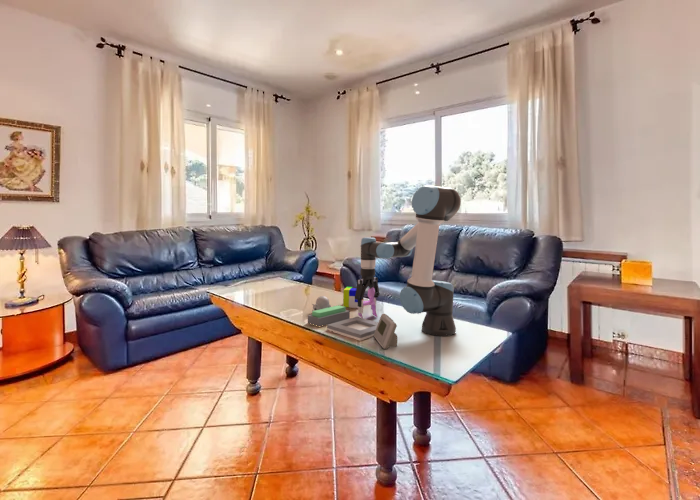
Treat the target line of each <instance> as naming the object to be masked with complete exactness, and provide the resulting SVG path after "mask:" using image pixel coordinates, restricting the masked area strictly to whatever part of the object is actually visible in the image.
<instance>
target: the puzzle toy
mask: <svg viewBox="0 0 700 500" xmlns="http://www.w3.org/2000/svg"><path fill="white" fill-rule="evenodd" d="M356 288H357V286H356V287H354V286H346V287H345V288H344V289H343V294H342V296H343V297H342V299H343V300H342V306H344V307H346V308H353V309H358V300H356V299H355V294H356ZM360 298H361V297H360ZM362 300H363V301H364V298H363V299H362Z"/></svg>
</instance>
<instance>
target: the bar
mask: <svg viewBox="0 0 700 500" xmlns="http://www.w3.org/2000/svg"><path fill="white" fill-rule="evenodd" d="M346 308H347V307H344V306H343V305H334V306H331V307H329V308H324V309H320V310H315V311H312V310H311V314H312V316H315V317H318V318H320V317H324V316H328V315H332V314H336V313H340V312H344V311H346V310H347V309H346Z"/></svg>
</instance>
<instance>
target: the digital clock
mask: <svg viewBox="0 0 700 500" xmlns="http://www.w3.org/2000/svg"><path fill="white" fill-rule="evenodd" d="M397 327H398V326H397V323H396V322H395V321H394V320H393V319H392V318H391V317H390V316H389V315H387V314H386V313H382V314H381V315H380V317H379V320H378V325H377V327H376V330H375V333H374V336H373V337H374V338H375V339H376V341H377V343H378V344H379V345H380V346H381V348H383V350H387V349H389V348H391V347H393V348H394V347H398V335H397V334H396V333H395V331H396V330H397Z"/></svg>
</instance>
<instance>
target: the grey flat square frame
mask: <svg viewBox="0 0 700 500" xmlns="http://www.w3.org/2000/svg"><path fill="white" fill-rule="evenodd" d="M378 322H379V321H378ZM378 322H377V321H374V320H370V319H368V318H361V317H360V316H355V317H351V318H350V319H346V320H343V321H339V322H335V323H332V324H328V325H326V331H328V330H330V331H329V332H331V331H333V332H332V333H335V334H338V335H341V336H344V337H347V338H350V339H354V340H357V341H360V342H361V341H363V340H366V339H369V338H372V337H374V333H375V330H376V327H377V325H378Z"/></svg>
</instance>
